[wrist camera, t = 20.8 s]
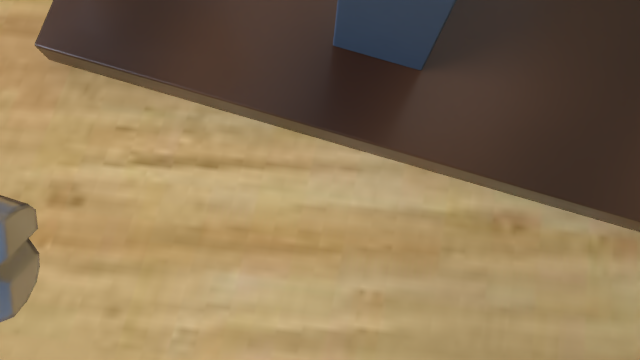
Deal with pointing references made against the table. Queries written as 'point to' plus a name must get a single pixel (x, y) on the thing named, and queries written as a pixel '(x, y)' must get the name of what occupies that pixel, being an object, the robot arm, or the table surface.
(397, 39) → the book
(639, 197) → the dark brown board
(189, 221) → the table surface
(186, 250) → the table surface
